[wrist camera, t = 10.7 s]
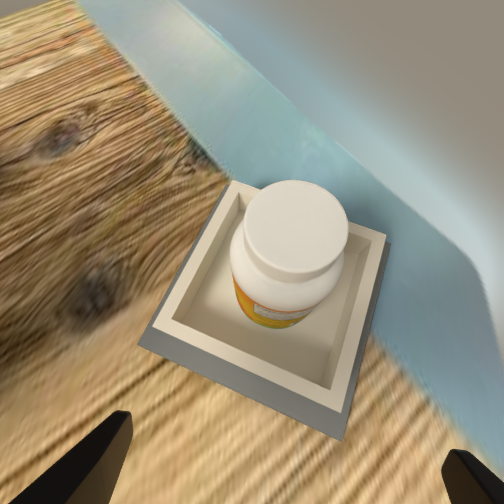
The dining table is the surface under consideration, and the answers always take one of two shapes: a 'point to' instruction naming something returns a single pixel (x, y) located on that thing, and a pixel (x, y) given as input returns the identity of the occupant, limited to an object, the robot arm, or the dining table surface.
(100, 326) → the dining table surface
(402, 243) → the dining table surface
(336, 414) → the mat
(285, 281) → the supplement bottle
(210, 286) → the dish
